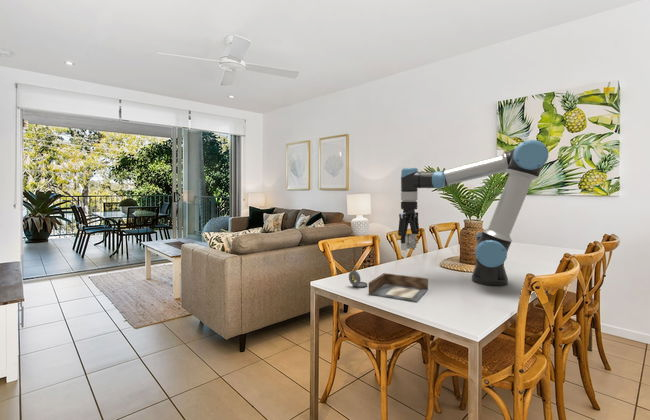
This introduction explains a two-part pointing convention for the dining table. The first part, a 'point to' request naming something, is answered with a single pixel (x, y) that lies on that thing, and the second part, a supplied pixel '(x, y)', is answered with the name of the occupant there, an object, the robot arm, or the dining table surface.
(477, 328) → the dining table surface
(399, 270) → the dining table surface
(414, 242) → the game die
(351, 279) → the pocket watch
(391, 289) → the tray
